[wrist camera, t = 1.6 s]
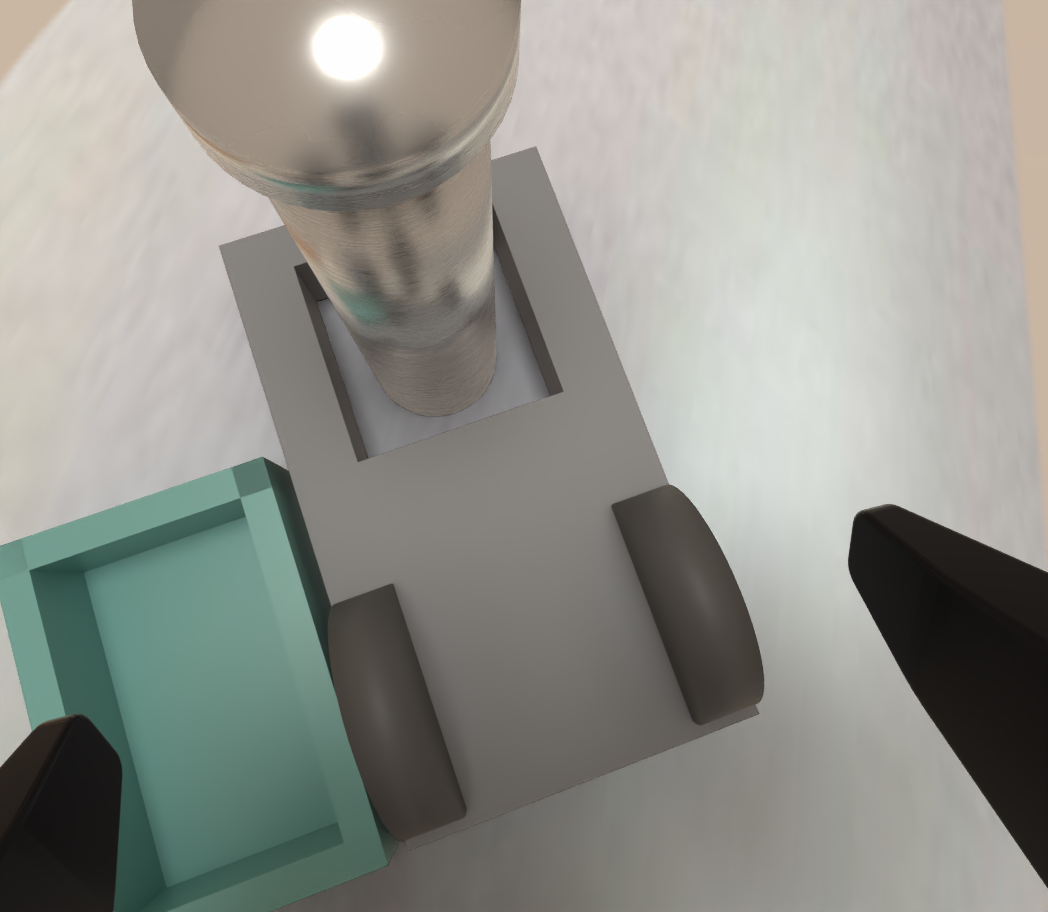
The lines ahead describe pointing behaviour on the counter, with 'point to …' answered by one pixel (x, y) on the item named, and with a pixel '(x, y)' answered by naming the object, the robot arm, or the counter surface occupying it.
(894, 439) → the counter surface
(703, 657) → the socket plate with bumps
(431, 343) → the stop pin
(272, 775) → the tray
